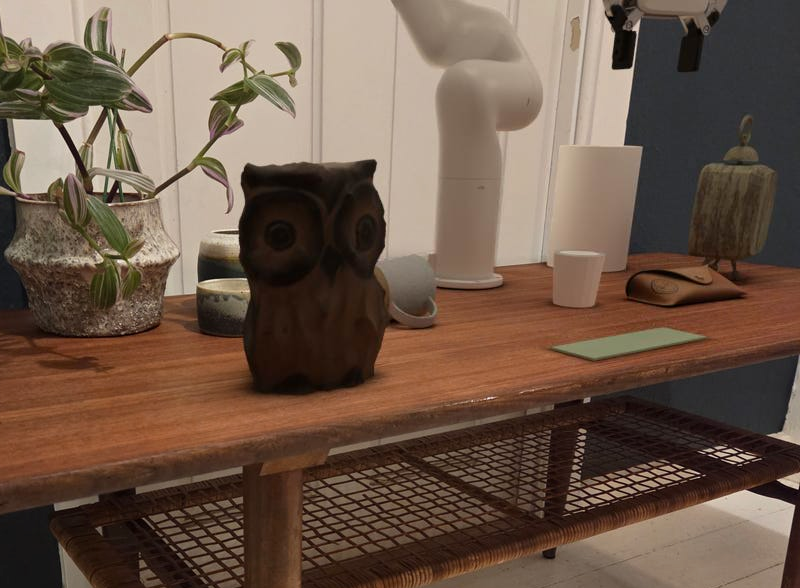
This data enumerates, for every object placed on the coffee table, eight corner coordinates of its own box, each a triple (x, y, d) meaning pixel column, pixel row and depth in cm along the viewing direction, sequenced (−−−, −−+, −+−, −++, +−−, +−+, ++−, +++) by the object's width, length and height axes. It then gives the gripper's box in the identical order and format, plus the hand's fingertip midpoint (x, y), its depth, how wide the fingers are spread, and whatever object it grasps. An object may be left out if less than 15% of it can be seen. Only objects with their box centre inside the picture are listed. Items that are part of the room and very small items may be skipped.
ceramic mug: (348, 316, 113) (350, 255, 110) (398, 309, 117) (401, 250, 114) (401, 333, 105) (405, 267, 102) (452, 325, 109) (457, 262, 106)
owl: (390, 372, 87) (399, 158, 80) (347, 407, 77) (353, 163, 69) (274, 359, 92) (272, 155, 84) (217, 390, 81) (210, 159, 73)
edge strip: (593, 361, 93) (593, 358, 93) (550, 349, 98) (550, 346, 97) (706, 338, 103) (706, 336, 103) (662, 329, 108) (662, 327, 108)
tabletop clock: (703, 270, 153) (731, 115, 144) (760, 276, 148) (792, 115, 139) (681, 281, 142) (708, 113, 133) (740, 287, 137) (774, 114, 128)
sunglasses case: (673, 304, 120) (659, 258, 121) (633, 322, 126) (620, 279, 127) (752, 294, 129) (739, 251, 130) (711, 311, 135) (699, 270, 136)
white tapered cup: (571, 310, 119) (578, 257, 116) (537, 301, 124) (543, 250, 122) (609, 306, 122) (616, 254, 119) (574, 297, 127) (580, 248, 125)
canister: (629, 263, 160) (646, 146, 152) (620, 274, 148) (638, 147, 141) (554, 258, 165) (566, 144, 157) (540, 268, 153) (552, 145, 146)
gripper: (715, -82, 107) (691, 74, 113) (594, -95, 101) (576, 69, 108) (763, -95, 100) (734, 71, 106) (636, -109, 95) (614, 66, 101)
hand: (654, 70), depth 107 cm, fingers open, 9 cm apart
